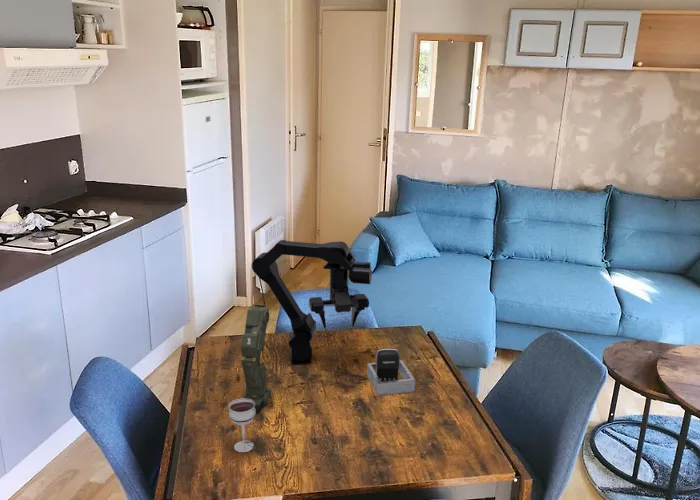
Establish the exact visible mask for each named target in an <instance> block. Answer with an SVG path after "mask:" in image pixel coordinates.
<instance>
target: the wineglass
mask: <svg viewBox="0 0 700 500" xmlns="http://www.w3.org/2000/svg"><path fill="white" fill-rule="evenodd" d="M254 406H255V402H254V401H253V400H251V399H247V398H243V397H242V398H237V399H234V400H232V401H230V403H229V404H228V409H229V410H228V417H229V420H230V421H231V422H232V423H233V424H235V425H236V426H237V425H238V426H241V434H242V435H241V437H242V440H240V441H238V442H236V443H235V444H234V446H233V448H234V450H235V451H236V452H239V453H247V452H249V451H251V450H253V449H254V442H253V441H250V440H246V439H245V438H246V437H245V436H246V435H245V433H246V432H245V431H246V430H245V426H246V425H249V424H250V423H251V422H252V421H253V420H254V419H255V417H256V415H257V413H256V410H255V407H254Z"/></svg>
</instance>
